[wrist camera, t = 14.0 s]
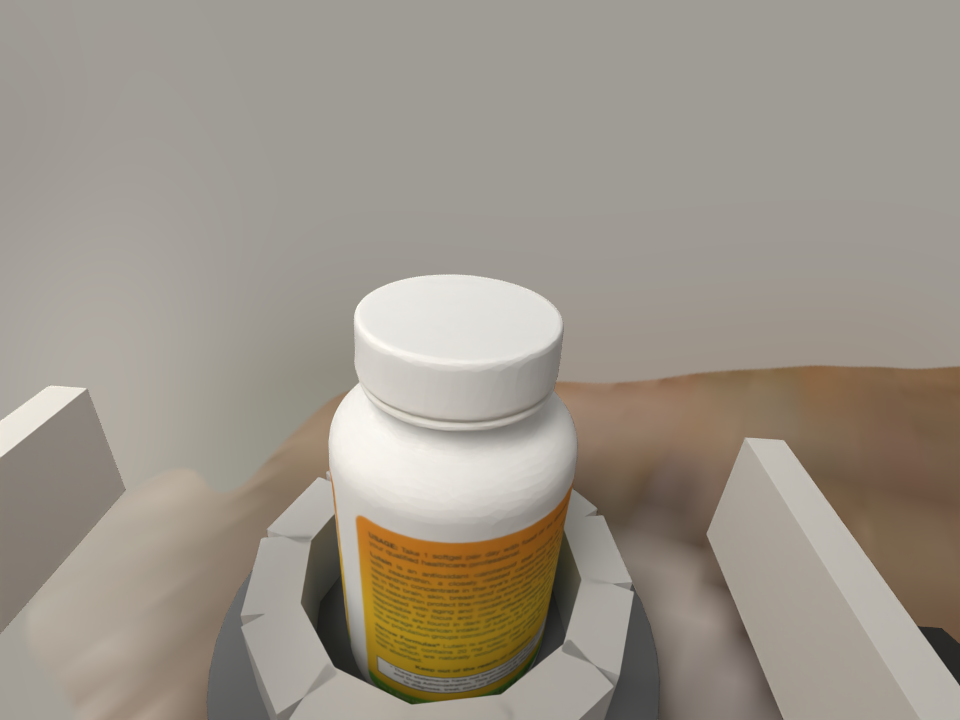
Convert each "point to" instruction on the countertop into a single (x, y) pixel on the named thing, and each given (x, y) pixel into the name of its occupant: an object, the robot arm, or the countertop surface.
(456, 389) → the supplement bottle
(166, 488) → the countertop surface
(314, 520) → the bottle holder
